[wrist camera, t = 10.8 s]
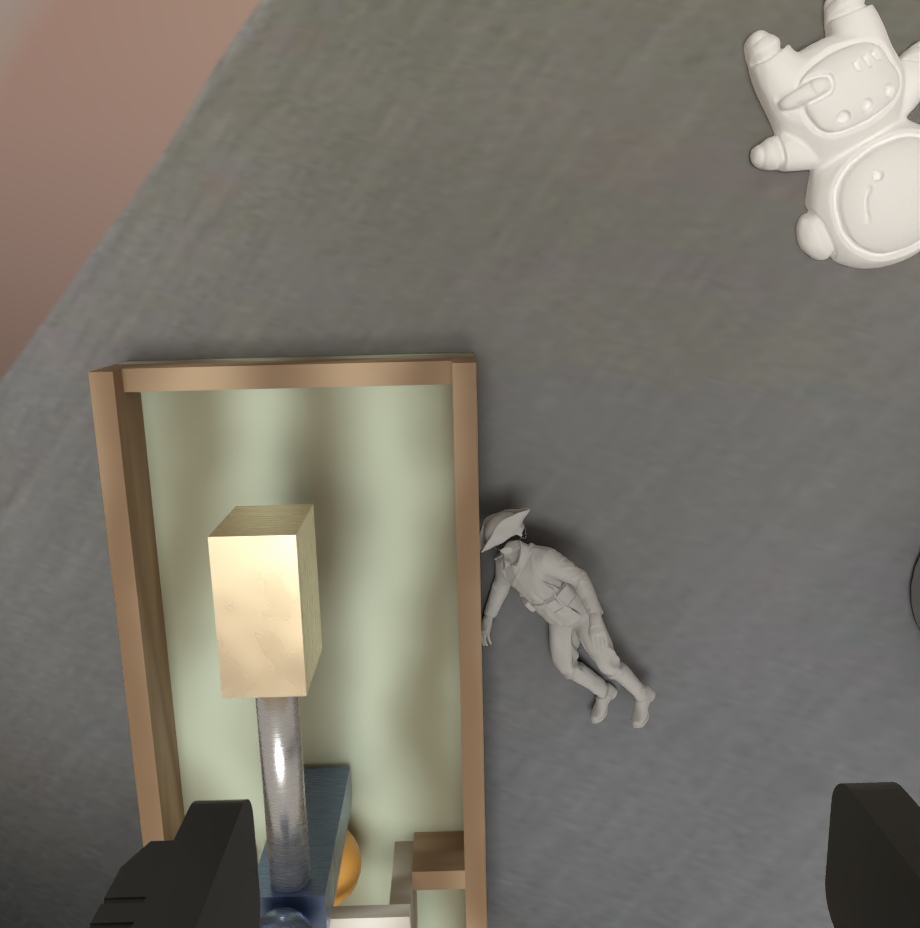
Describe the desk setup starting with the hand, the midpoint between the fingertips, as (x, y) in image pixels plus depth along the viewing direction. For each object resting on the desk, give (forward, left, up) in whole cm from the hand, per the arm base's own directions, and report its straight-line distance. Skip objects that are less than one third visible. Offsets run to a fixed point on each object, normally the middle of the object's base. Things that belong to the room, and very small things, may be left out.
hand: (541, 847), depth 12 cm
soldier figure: (-4, +9, -30) cm, 32 cm away
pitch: (+8, +11, -30) cm, 33 cm away
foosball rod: (+8, +10, -28) cm, 31 cm away
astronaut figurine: (-17, -13, -31) cm, 37 cm away
